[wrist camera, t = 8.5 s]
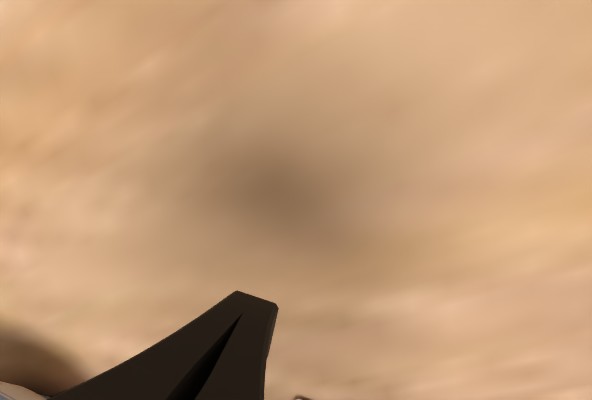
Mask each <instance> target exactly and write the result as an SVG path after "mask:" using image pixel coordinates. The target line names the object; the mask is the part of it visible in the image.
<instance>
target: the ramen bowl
mask: <svg viewBox="0 0 592 400" xmlns="http://www.w3.org/2000/svg"><path fill="white" fill-rule="evenodd" d="M49 398H51V397H49V396H44V395H39V394H37V393H35V392H33V391H31V390H29V389H26V388H24V387H22V386H18V385H14V384H9V383H5V382H1V381H0V400H47V399H49Z"/></svg>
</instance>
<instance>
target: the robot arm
mask: <svg viewBox="0 0 592 400" xmlns="http://www.w3.org/2000/svg"><path fill="white" fill-rule="evenodd" d="M278 309H279V308H278V306H277V305H276V303H273V302H270V301H267V300H264V299H261V298H258V297H255V296H252V295H249V294H246V293H243V292H240V291H235V292H233V293H232V294H230V295H229V296H227V297H226V298H225V299H223V300H222V301H221V302H219V303H218V304H216V305H215V306H214V307H212V308H211V309H209V310H208V311H206V312H205V313H203V314H202V315H201V316H199V317H198V318H196V319H195V320H193V321H191V322H190V323H188V324H187V325H185V326H184V327H182V328H181V329H179V330H178V331H176V332H175V333H173V334H171V335H170V336H168V337H166V338H165V339H163V340H161V341H160V342H158V343H156V344H155V345H153V346H151V347H150V348H148V349H146V350H144V351H143V352H141V353H139V354H138V355H136V356H134V357H132V358H130V359H129V360H127V361H125V362H123V363H121V364H119V365H117V366H115V367H114V368H112V369H110V370H108V371H106V372H104V373H102V374H100V375H98V376H96V377H94V378H92V379H90V380H88V381H86V382H84V383H81V384H79V385H77V386H75V387H73V388H71V389H68V390H66V391H64V392H62V393H60V394H57V395H55V396H53V397H51V398H49V399H47V400H264V383H265V369H266V360H267V357H268V353H269V349H270V344H271V340H272V336H273V331H274V327H275V322H276V318H277V313H278ZM296 400H302V399H296Z"/></svg>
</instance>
